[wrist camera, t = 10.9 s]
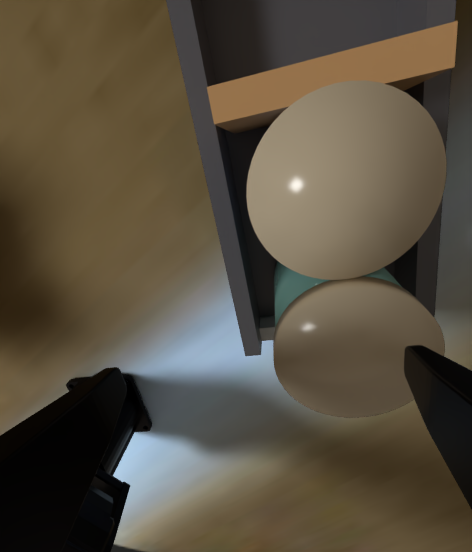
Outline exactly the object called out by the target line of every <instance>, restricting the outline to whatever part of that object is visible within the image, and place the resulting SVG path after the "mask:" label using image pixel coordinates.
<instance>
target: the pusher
mask: <svg viewBox="0 0 472 552" xmlns="http://www.w3.org/2000/svg"><path fill="white" fill-rule="evenodd" d="M457 27H458V21H455V22H451V23H447V24H443V25H440V26H436V27H432V28H428V29H424V30H421V31H417V32H413V33H409V34H405V35H402V36H398V37H394V38H390V39H387V40H383V41H379V42H375V43H371V44H368V45H364V46H360V47H356V48H352V49H349V50H345V51H341V52H337V53H334V54H330V55H326V56H322V57H318V58H315V59H311V60H307V61H303V62H300V63H296V64H292V65H288V66H284V67H281V68H277V69H273V70H269V71H265V72H262V73H258V74H254V75H250V76H247V77H243V78H239V79H235V80H231V81H228V82H224V83H220V84H216V85H212V86H209V87H207V91H208V96H209V101H210V106H211V111H212V116H213V121H214V124H215V125H217V126H219V127H221V128H223V129H225V130H228V131H230V132H232V133H234V134H235V133H239V132H244V131H248V130H252V129H257V128H261V127H266V126H270V125H271V124H272V123H273V122H274V121H275V120H276V119H277V118H278V117H279V115H280V114H281V113H282V112H283V111H284V110H286V109H287V108H288V107H289V106H291V105H292V104H293V103H294V102H296V101H297V100H299V99H300V98H302V97H304V96H305V95H307V94H309V93H311V92H313V91H315V90H317V89H319V88H321V87H325V86H328V85H331V84H334V83H339V82H346V81H363V80H366V81H373V82H380V83H383V84H386V85H390V86H393V87H395V88H397V89H399V90H401V91H405V90H407V89H409V88H411V87H413V86H415V85H417V84H420V83H422V82H424V81H426V80H428V79H430V78H432V77H434V76H437V75H439V74H441V73H443V72H445V71H447V70H449V69H451V68H454V67H455V55H456V41H457Z"/></svg>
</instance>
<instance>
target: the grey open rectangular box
mask: <svg viewBox="0 0 472 552" xmlns="http://www.w3.org/2000/svg"><path fill="white" fill-rule="evenodd" d="M166 2H167V6H168V11H169V15H170V20H171V24H172V29H173V33H174V38H175V42H176V47H177V51H178V56H179V60H180V64H181V69H182V73H183V78H184V82H185V87H186V91H187V96H188V100H189V105H190V109H191V114H192V118H193V123H194V127H195V132H196V136H197V141H198V145H199V150H200V154H201V159H202V163H203V168H204V172H205V177H206V181H207V186H208V190H209V194H210V199H211V203H212V208H213V212H214V217H215V221H216V226H217V230H218V235H219V239H220V244H221V248H222V253H223V257H224V262H225V266H226V271H227V275H228V280H229V284H230V289H231V293H232V298H233V302H234V307H235V311H236V316H237V320H238V324H239V329H240V333H241V338H242V342H243V347H244V351H245V356H253V355H261V345H262V341H265V340H274V333H275V297H274V268H275V264H276V261H277V260H276V259H275V258H274V257H273V256H272V255H271V254H270V253H269V252H268V251H267V250H266V249H265V247H264V246H263V245H262V243H261V242H260V240H259V238H258V237H257V235H256V233H255V231H254V228H253V226H252V223H251V221H250V217H249V212H248V207H247V197H246V195H247V179H248V173H249V169H250V165H251V161H252V158H253V156H254V153H255V151H256V149H257V146H258V144H259V143H260V141H261V139H262V137H263V136H264V134H265V133H266V131H267V130H268V128H269V127H270V126H271V125H270V126H266V127H261V128H257V129H252V130H248V131H244V132H239V133H235V134H234V133H232V132H230V131H228V130H225V129H223V128H221V127H219V126H217V125H215V124H214V121H213V116H212V111H211V106H210V101H209V96H208V91H207V87H209V86H212V85H216V84H220V83H224V82H228V81H231V80H235V79H239V78H243V77H247V76H250V75H254V74H258V73H262V72H265V71H269V70H273V69H277V68H281V67H284V66H288V65H292V64H296V63H300V62H303V61H307V60H311V59H315V58H318V57H322V56H326V55H330V54H334V53H337V52H341V51H345V50H349V49H352V48H356V47H360V46H364V45H368V44H371V43H375V42H379V41H383V40H387V39H390V38H394V37H398V36H402V35H405V34H409V33H413V32H417V31H421V30H424V29H428V28H432V27H436V26H440V25H443V24H447V23H451V22H455V9H456V0H166ZM450 82H451V69H449V70H447V71H445V72H443V73H441V74H439V75H437V76H434V77H432V78H430V79H428V80H426V81H424V82H422V83H420V84H417V85H415V86H413V87H411V88H409V89H407V90H405V91H403V92H405V93H407V94H408V95H410V96H411V97H412V98H414V99H415V100H417V101H418V102H419V103H420V104H421V105H422V106H423V107H424V108H425V109H426V110H427V111H428V113H429V114H430V116H431V117H432V119H433V120H434V122H435V123H436V125H437V128H438V130H439V132H440V134H441V137H442V140H443V144H444V147H445V154H446V140H447V126H448V111H449V97H450ZM442 198H443V195H442ZM441 213H442V199H441V202H440V205H439V207H438V209H437V212H436V214H435V216H434V218H433V220H432V221H431V223H430V225H429V227H428V228H427V229H426V231H425V232H424V233H423V235H422V236H421V237H420V239H419V240H418V241H417V242H416V243H415V244H414V245H413V246H412V247H411V248H410V249H409V250H408V251H407V252H405V253H404V254H403V255H402V256H401V257H399V258H398V259H396V260H395V261H393V262H392V263H390V264H389V265H387V266H385V267H384V268H385V269H386V270H387V271H388V272H389V273H390V274H391V275H392V276H393V277H394V279H395V280H396V281H397V282H398V283H399V284H400V285H401V286H402V287H403V288H404V289H406V290H407V291H409V292H410V293H411V294H412V295H413V296H415V297H416V298H417V299H418V301H419V302H420V303H421V304H422V305H423V306H424V307H425V308H426V309H427V310H428V311H429V312H430V314H431V315H432V316H433V317H434V315H435V300H436V286H437V271H438V257H439V242H440V228H441Z"/></svg>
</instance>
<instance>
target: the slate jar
mask: <svg viewBox="0 0 472 552" xmlns="http://www.w3.org/2000/svg"><path fill="white" fill-rule="evenodd" d="M446 166H447V161H446V154H445V147H444V144H443V140H442V137H441V134H440V132H439V130H438V128H437V125H436V123H435V122H434V120H433V119H432V117H431V116H430V114H429V113H428V111H427V110H426V109H425V108H424V107H423V106H422V105H421V104H420V103H419V102H418V101H417V100H415V99H414V98H412V97H411V96H410V95H408V94H407V93H405V92H403V91H401V90H399V89H397V88H395V87H393V86H390V85H386V84H383V83H380V82H373V81H366V80H363V81H346V82H339V83H334V84H331V85H328V86H325V87H321V88H319V89H317V90H315V91H313V92H311V93H309V94H307V95H305V96H304V97H302V98H300V99H299V100H297V101H296V102H294V103H293V104H292V105H291V106H289V107H288V108H287V109H286V110H284V111H283V112H282V113H281V114H280V115H279V117H278V118H277V119H276V120H275V121H274V122H273V123H272V124H271V126H270V127H269V128H268V130H267V131H266V133H265V134H264V136H263V137H262V139H261V141H260V143H259V144H258V146H257V149H256V151H255V153H254V156H253V158H252V161H251V165H250V169H249V173H248V179H247V195H246V197H247V207H248V212H249V217H250V221H251V223H252V226H253V228H254V231H255V233H256V235H257V237H258V238H259V240H260V242H261V243H262V245H263V246H264V247H265V249H266V250H267V251H268V252H269V253H270V254H271V255H272V256H273V257H274V258H275V259H276V260H277V261H279V262H280V263H281V264H283V265H284V266H286V267H287V268H289V269H291V270H293V271H295V272H297V273H299V274H302V275H305V276H309V277H312V278H318V279H325V280H342V279H350V278H356V277H360V276H363V275H367V274H370V273H372V272H374V271H377V270H379V269H381V268H383V267H385V266H387V265H389V264H390V263H392V262H393V261H395V260H396V259H398V258H399V257H401V256H402V255H403V254H404V253H405V252H407V251H408V250H409V249H410V248H411V247H412V246H413V245H414V244H415V243H416V242H417V241H418V240H419V239H420V237H421V236H422V235H423V233H424V232H425V231H426V229H427V228H428V227H429V225H430V223H431V221H432V220H433V218H434V216H435V214H436V212H437V209H438V207H439V205H440V202H441V199H442V195H443V192H444V188H445V181H446Z"/></svg>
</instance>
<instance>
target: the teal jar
mask: <svg viewBox="0 0 472 552" xmlns="http://www.w3.org/2000/svg"><path fill="white" fill-rule="evenodd" d="M274 297H275V333H274V341H273V351H274V367H275V371H276V374H277V377H278V379H279V381H280V383H281V384H282V386H283V387H284V389H285V390H286V391H287V392H288V393H289V395H291V396H292V397H293V398H294V399H295V400H296V401H298V402H299V403H301V404H302V405H304V406H306V407H308V408H310V409H312V410H314V411H317V412H320V413H323V414H327V415H331V416H337V417H347V418H359V417H369V416H374V415H379V414H383V413H386V412H389V411H392V410H395V409H397V408H399V407H401V406H403V405H406V404H407V403H409V402H410V401H412V400H414V396H413V394H412V392H411V389H410V387H409V385H408V382H407V380H406V377H405V374H404V352H405V347H407V346H410V345H423V346H425V347H427V348H429V349H431V350H433V351H435V352H437V353H438V354H440V355H442V356H444V353H445V344H444V338H443V334H442V331H441V329H440V326H439V325H438V323H437V321H436V320H435V318H434V317H433V316H432V315H431V314H430V312H429V311H428V310H427V309H426V308H425V307H424V306H423V305H422V304H421V303H420V302H419V301H418V299H417V298H416V297H415V296H413V295H412V294H411V293H410V292H409V291H407V290H406V289H404V288H403V287H402V286H401V285H400V284H399V283H398V282H397V281H396V280H395V279H394V277H393V276H392V275H391V274H390V273H389V272H388V271H387V270H386V269H385V268H384V267H383V268H381V269H379V270H377V271H374V272H372V273H370V274H367V275H363V276H360V277H356V278H350V279H342V280H325V279H318V278H312V277H309V276H305V275H302V274H299V273H297V272H295V271H293V270H291V269H289V268H287V267H286V266H284V265H283V264H281V263H280V262H279V261H276V264H275V268H274Z"/></svg>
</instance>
